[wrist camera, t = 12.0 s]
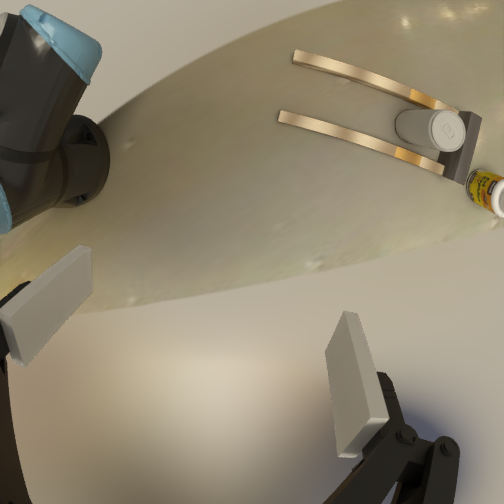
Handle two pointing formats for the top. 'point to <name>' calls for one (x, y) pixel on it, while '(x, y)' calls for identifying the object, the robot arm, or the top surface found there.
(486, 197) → the supplement bottle
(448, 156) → the guide channel
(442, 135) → the beverage can
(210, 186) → the top surface
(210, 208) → the top surface
